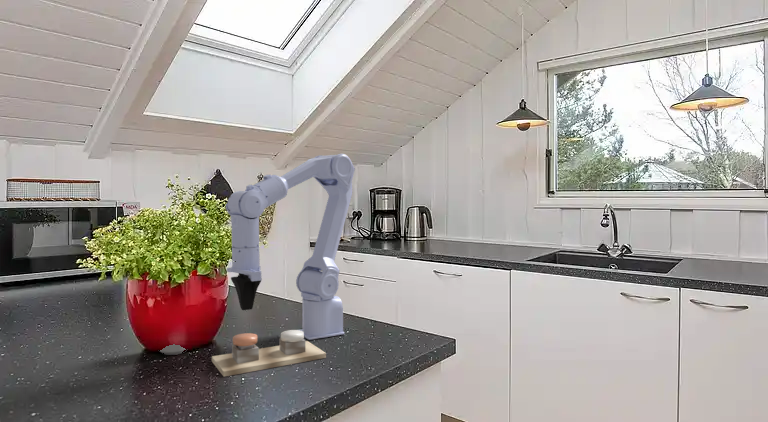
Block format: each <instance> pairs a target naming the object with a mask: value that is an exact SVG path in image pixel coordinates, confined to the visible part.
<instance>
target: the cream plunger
mask: <svg viewBox="0 0 768 422" xmlns="http://www.w3.org/2000/svg"><path fill="white" fill-rule="evenodd" d="M280 338H281V340H282V341H284V342H297V341H301V340H303V339H304V340H305V337H304V332H303V331H300V329H291V330H290V329H289V330H284V331H282V332H281V333H280Z"/></svg>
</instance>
